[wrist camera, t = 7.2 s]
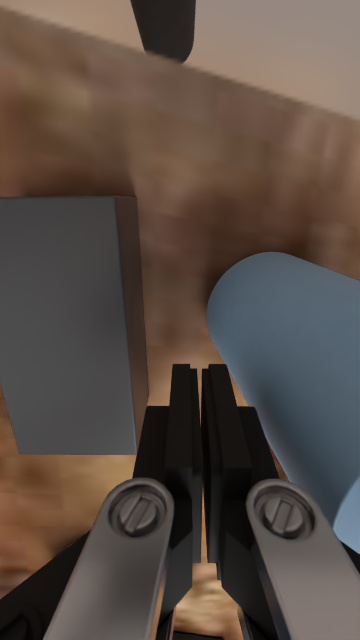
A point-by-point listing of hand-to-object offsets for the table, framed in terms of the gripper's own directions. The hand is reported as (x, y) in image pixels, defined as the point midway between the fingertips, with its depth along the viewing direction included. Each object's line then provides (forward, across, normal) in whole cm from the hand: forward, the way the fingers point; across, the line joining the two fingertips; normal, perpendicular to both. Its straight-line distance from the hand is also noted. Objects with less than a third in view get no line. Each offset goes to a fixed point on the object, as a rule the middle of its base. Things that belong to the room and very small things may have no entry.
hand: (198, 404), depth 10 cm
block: (+9, +6, 0) cm, 10 cm away
